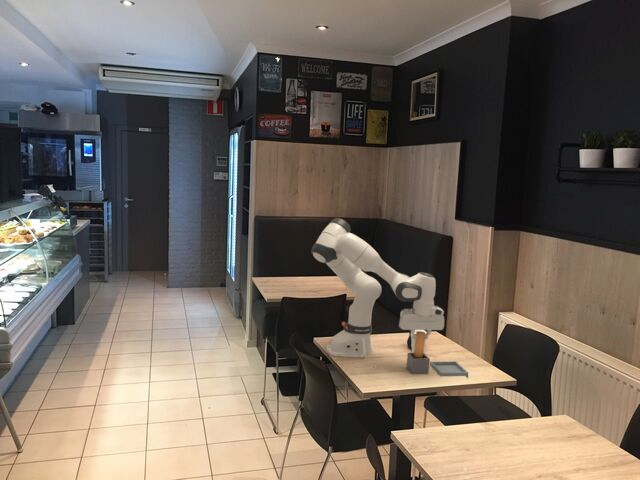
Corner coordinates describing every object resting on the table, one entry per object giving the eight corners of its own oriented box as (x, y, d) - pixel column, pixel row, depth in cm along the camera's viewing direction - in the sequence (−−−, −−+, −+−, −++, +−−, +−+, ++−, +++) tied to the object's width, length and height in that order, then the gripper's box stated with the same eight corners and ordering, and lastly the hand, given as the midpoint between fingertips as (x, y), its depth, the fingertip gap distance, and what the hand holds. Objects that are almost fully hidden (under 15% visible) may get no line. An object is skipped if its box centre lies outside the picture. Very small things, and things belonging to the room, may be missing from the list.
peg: (415, 362, 236) (418, 334, 234) (412, 358, 240) (415, 331, 238) (423, 362, 237) (426, 334, 235) (420, 358, 241) (423, 331, 239)
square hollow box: (411, 376, 235) (413, 359, 234) (406, 369, 242) (407, 352, 241) (428, 375, 236) (429, 358, 235) (421, 369, 244) (423, 352, 243)
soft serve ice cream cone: (420, 361, 253) (423, 329, 251) (405, 356, 258) (408, 325, 256) (428, 356, 260) (431, 325, 258) (413, 352, 265) (416, 321, 263)
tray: (440, 378, 235) (440, 372, 234) (429, 366, 247) (429, 361, 247) (467, 377, 237) (468, 372, 237) (455, 366, 250) (456, 361, 249)
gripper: (403, 310, 230) (400, 341, 232) (447, 311, 234) (443, 341, 236) (398, 306, 236) (395, 336, 238) (441, 307, 240) (438, 336, 242)
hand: (420, 338), depth 237 cm, fingers closed on peg, 4 cm apart
